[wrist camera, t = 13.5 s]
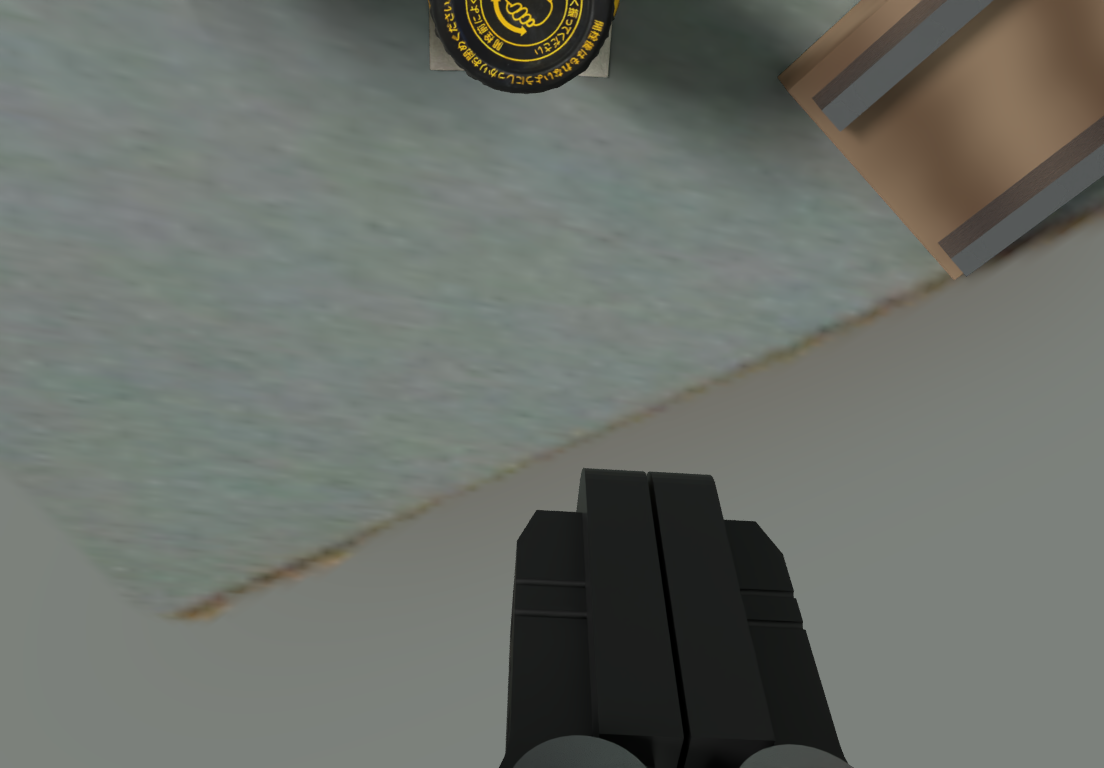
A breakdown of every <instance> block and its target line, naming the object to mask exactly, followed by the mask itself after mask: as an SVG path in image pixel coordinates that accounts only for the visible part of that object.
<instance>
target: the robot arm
mask: <svg viewBox="0 0 1104 768" xmlns="http://www.w3.org/2000/svg"><path fill="white" fill-rule="evenodd" d="M514 577H515V578H514V590H513V603H512V618H511V631H510V653H509V678H508V680H509V681H508V704H507V705H508V706H507V729H506V751H505V752H506V753H505V757H504V759H503V761H502V763H501V765H500V767H499V768H853V767H852V766H850V765H849V764H848V763H847V761H846V759H845V757H844V755H843V752H842V749H841V747H840V744H839V740H838V737H837V734H836V731H835V727H834V724H833V721H832V717H831V714H830V710H829V707H828V704H827V700H826V697H825V694H824V690H823V687H822V684H821V680H820V677H819V674H818V670H817V667H816V664H815V661H814V657H813V654H812V650H811V647H810V643H809V640H808V637H807V633H806V630H803V620H802V617H801V613H800V610H799V607H798V603H797V600H796V598H794V596H793V592H794V590H793V587H792V583H791V580H790V577H789V573H788V570H787V567H786V563H785V560H784V557H783V554H782V553H781V552H780V550H779V549H778V548H777V547H776V546H775V544H774V543H773V542H772V541H771V540H770V538H769V537H768V536H767V535H766V534H765V532H764V531H763V530H762V529H761V528H760V526H759V525H758V524H757V523H756V522H754V521H736V520H724V519H723V515H722V511H721V507H720V502H719V498H718V494H717V490H716V485H715V482H714V479H713V477H712V476H711V475H700V474H683V473H666V472H648V474H647V476H646V473H645V472H643V471H625V470H624V471H623V470H607V469H589V468H583V469H582V473H581V478H580V486H579V494H578V503H577V511H576V512H563V511H544V510H536V512H535V513H534V515H533V517H532V518H531V520H530V521H529V523H528V525H527V526H526V528H525V529H524V531H523V532H522V534H521V535H520V537H519V539H518V540H517V550H516V563H515V576H514Z"/></svg>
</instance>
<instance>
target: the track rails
mask: <svg viewBox="0 0 1104 768" xmlns="http://www.w3.org/2000/svg"><path fill="white" fill-rule="evenodd" d="M992 1H993V0H921V1H920V2H919V3H918V4H917V5H916V6H915V7H914V8H912V9H911V10H910V11H909V12H908V13H907V14H906V15H905V16H903V17H902V18H901V19H900V20H899V21H898V22H897V23H896V24H894V25H893V26H892V27H891V28H890V29H889V30H888V31H887V32H885V33H884V34H883V35H882V36H881V37H880V38H879V39H878V40H877V41H875V42H874V43H873V44H872V45H871V46H870V47H869V48H868V49H866V50H865V51H864V52H863V53H862V54H861V55H860V56H859V57H857V58H856V59H855V60H854V61H853V62H852V63H851V64H850V65H848V66H847V67H846V68H845V69H844V70H843V71H842V72H841V73H839V74H838V75H837V76H836V77H835V78H834V79H833V80H832V81H830V82H829V83H828V84H827V85H826V86H825V87H824V88H823V89H821V90H820V91H819V92H818V93H817V94H816V95H815V96H814V97H812V99H813V100H814V102H815V103H816V104H817V105H818V107H819V108H820V109H821V110H822V112H823V113H824V114H825V115H826V116H827V117H828V119H829V120H830V121H831V122H832V123H833V124H834V125H835V127H836V128H837V129H838V130H839V131H840V132H841V131H842V130H843V129H844V128H846V127H847V126H848V125H849V124H850V123H851V122H852V121H854V120H855V119H856V118H857V117H858V116H859V115H861V114H862V113H863V112H864V111H865V110H866V109H868V108H869V107H870V106H871V105H872V104H873V103H875V102H876V101H877V100H878V99H879V98H880V97H882V96H883V95H884V94H885V93H886V92H887V91H889V90H890V89H891V88H892V87H893V86H894V85H896V84H897V83H898V82H899V81H900V80H901V79H903V78H904V77H905V76H906V75H907V74H908V73H909V72H911V71H912V70H913V69H914V68H915V67H916V66H918V65H919V64H920V63H921V62H922V61H923V60H925V59H926V58H927V57H928V56H929V55H930V54H932V53H933V52H934V51H935V50H936V49H937V48H939V47H940V46H941V45H942V44H943V43H944V42H946V41H947V40H948V39H949V38H950V37H951V36H953V35H954V34H955V33H956V32H957V31H958V30H960V29H961V28H962V27H963V26H964V25H965V24H966V23H968V22H969V21H970V20H971V19H972V18H973V17H975V16H976V15H977V14H978V13H979V12H980V11H982V10H983V9H984V8H985V7H986V6H987V5H989V4H990V3H991V2H992ZM1102 176H1104V116H1103V117H1101V118H1100V119H1099V120H1097V121H1096V122H1095V123H1093V124H1092V125H1091V126H1089V127H1088V128H1087V129H1086V130H1084V131H1083V132H1082V133H1080V134H1079V135H1078V136H1076V137H1075V138H1074V139H1073V140H1071V141H1070V142H1069V143H1067V144H1066V145H1065V146H1063V147H1062V148H1061V149H1059V150H1058V151H1057V152H1056V153H1054V154H1053V155H1052V156H1050V157H1049V158H1048V159H1046V160H1045V161H1044V162H1042V163H1041V164H1040V165H1039V166H1037V167H1036V168H1035V169H1033V170H1032V171H1031V172H1029V173H1028V174H1027V175H1025V176H1024V177H1023V178H1022V179H1020V180H1019V181H1018V182H1016V183H1015V184H1014V185H1012V186H1011V187H1010V188H1008V189H1007V190H1006V191H1005V192H1003V193H1002V194H1001V195H999V196H998V197H997V198H995V199H994V200H993V201H991V202H990V203H989V204H988V205H986V206H985V207H984V208H982V209H981V210H980V211H978V212H977V213H976V214H975V215H973V216H972V217H971V218H969V219H968V220H967V221H965V222H964V223H963V224H961V225H960V226H959V227H958V228H956V229H955V230H954V231H952V232H951V233H950V234H948V235H947V236H946V237H944V238H943V239H942V240H941V241H939V242H938V244H939V245H940V246H941V248H942V249H943V250H944V251H945V252H946V254H947V255H948V256H949V257H950V259H951V260H952V261H953V262H954V263H955V264H956V265H957V267H958V268H959V269H960V270H961V271H962V272H963V274H964V275H965V276H966V277H967V276H968V275H969V274H971V273H972V272H974V271H975V270H976V269H978V268H979V267H980V266H982V265H983V264H984V263H986V262H987V261H988V260H990V259H991V258H992V257H994V256H995V255H997V254H998V253H999V252H1001V251H1002V250H1003V249H1005V248H1006V247H1007V246H1009V245H1010V244H1011V243H1013V242H1014V241H1016V240H1017V239H1018V238H1020V237H1021V236H1022V235H1024V234H1025V233H1026V232H1028V231H1029V230H1030V229H1032V228H1033V227H1034V226H1036V225H1037V224H1039V223H1040V222H1041V221H1043V220H1044V219H1045V218H1047V217H1048V216H1049V215H1051V214H1052V213H1053V212H1055V211H1056V210H1057V209H1059V208H1060V207H1062V206H1063V205H1064V204H1066V203H1067V202H1068V201H1070V200H1071V199H1072V198H1074V197H1075V196H1076V195H1078V194H1079V193H1081V192H1082V191H1083V190H1085V189H1086V188H1087V187H1089V186H1090V185H1091V184H1093V183H1094V182H1095V181H1097V180H1098V179H1099V178H1101V177H1102Z"/></svg>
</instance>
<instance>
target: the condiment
mask: <svg viewBox="0 0 1104 768" xmlns="http://www.w3.org/2000/svg"><path fill="white" fill-rule="evenodd" d="M428 2H429V37H430V45H429V46H430V70H461V71H466V73H467V74H468V76H470V77H472V78H473V79H475V80H479V81H480V82H482V83H483V84H484V85H487V86H489V87H491V88H493V89H496V90H500V91H505V92H510V93H524V94H529V93H540V92H545V91H547V90H550V89H554V88H558V87H560V86H562V85H563V84H565V83H566V82H568V81H570V80H571V79H573V78H574V77H576V76H577V75H579V76H591V77H608V66H609V55H610V41H611V30H612V21H613V20H614V17H615V15H616V12H617V9H618V6H619V2H620V0H428Z"/></svg>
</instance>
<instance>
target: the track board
mask: <svg viewBox="0 0 1104 768" xmlns="http://www.w3.org/2000/svg"><path fill="white" fill-rule="evenodd" d="M920 1H921V0H861V1H860V2H859V3H858V4H857V5H856V6H854V7H853V8H852V9H851V10H850V11H849V12H848V13H847V14H846V15H845V16H844V17H842V18H841V19H840V20H839V21H838V22H837V23H836V24H835V25H834V26H833V27H832V28H830V29H829V30H828V31H827V32H826V33H825V34H824V35H823V36H822V37H821V38H820V39H818V40H817V41H816V42H815V43H814V44H813V45H812V46H811V47H810V48H809V49H808V50H806V51H805V52H804V53H803V54H802V55H801V56H800V57H799V58H798V59H797V60H796V61H794V62H793V63H792V64H791V65H790V66H789V67H788V68H787V69H786V70H785V71H784V72H782V73H781V74H780V75H779V76H778V79H779V80H780V81H781V83H782V84H783V86H784V87H785V88H786V90H787V91H788V92H789V93H790V94H791V96H792V97H793V98H794V99H795V100H796V101H797V102H798V104H799V105H800V106H801V107H802V108H803V109H804V110H805V111H806V113H807V114H808V115H809V116H810V117H811V118H812V119H813V121H814V122H815V123H816V124H817V125H818V126H819V127H820V128H821V130H822V131H823V132H824V133H825V134H826V135H827V136H828V138H829V139H830V140H831V141H832V142H833V143H834V144H835V146H836V147H837V148H838V149H839V150H840V151H841V152H842V153H843V155H844V156H845V157H846V158H847V159H848V160H849V161H850V163H851V164H852V165H853V166H854V167H855V168H856V169H857V170H858V172H859V173H860V174H861V175H862V176H863V177H864V178H865V180H866V181H867V182H868V183H869V184H870V185H871V186H872V188H873V189H874V190H875V191H876V192H877V193H878V194H879V195H880V197H881V198H882V199H883V200H884V201H885V202H886V203H887V205H888V206H889V207H890V208H891V209H892V210H893V211H894V212H895V214H896V215H897V216H898V217H899V218H900V219H901V220H902V222H903V223H904V224H905V225H906V226H907V227H908V228H909V230H910V231H911V232H912V233H913V234H914V235H915V236H916V237H917V239H918V240H919V241H920V242H921V243H922V244H923V245H924V247H925V248H926V249H927V250H928V251H929V252H930V253H931V254H932V256H933V257H934V258H935V259H936V260H937V261H938V262H939V264H940V265H941V266H942V267H943V268H944V269H945V270H946V272H947V273H948V274H949V275H950V276H951V277H952V278H953V279H954V280H955V279H956V278H958V277H959V276H961V275H962V274H963V272H962V271H961V270H960V269H959V268H958V267H957V265H956V264H955V263H954V262H953V261H952V260H951V259H950V257H949V256H948V255H947V254H946V252H945V251H944V250H943V249H942V248H941V246H940V245H939V244H938V242H939V241H941V240H942V239H943V238H944V237H946V236H947V235H948V234H950V233H951V232H952V231H954V230H955V229H956V228H958V227H959V226H960V225H961V224H963V223H964V222H965V221H967V220H968V219H969V218H971V217H972V216H973V215H975V214H976V213H977V212H978V211H980V210H981V209H982V208H984V207H985V206H986V205H988V204H989V203H990V202H991V201H993V200H994V199H995V198H997V197H998V196H999V195H1001V194H1002V193H1003V192H1005V191H1006V190H1007V189H1008V188H1010V187H1011V186H1012V185H1014V184H1015V183H1016V182H1018V181H1019V180H1020V179H1022V178H1023V177H1024V176H1025V175H1027V174H1028V173H1029V172H1031V171H1032V170H1033V169H1035V168H1036V167H1037V166H1039V165H1040V164H1041V163H1042V162H1044V161H1045V160H1046V159H1048V158H1049V157H1050V156H1052V155H1053V154H1054V153H1056V152H1057V151H1058V150H1059V149H1061V148H1062V147H1063V146H1065V145H1066V144H1067V143H1069V142H1070V141H1071V140H1073V139H1074V138H1075V137H1076V136H1078V135H1079V134H1080V133H1082V132H1083V131H1084V130H1086V129H1087V128H1088V127H1089V126H1091V125H1092V124H1093V123H1095V122H1096V121H1097V120H1099V119H1100V118H1101V117H1103V116H1104V0H993V1H992V2H991V3H990V4H989V5H987V6H986V7H985V8H984V9H983V10H982V11H980V12H979V13H978V14H977V15H976V16H975V17H973V18H972V19H971V20H970V21H969V22H968V23H966V24H965V25H964V26H963V27H962V28H961V29H960V30H958V31H957V32H956V33H955V34H954V35H953V36H951V37H950V38H949V39H948V40H947V41H946V42H944V43H943V44H942V45H941V46H940V47H939V48H937V49H936V50H935V51H934V52H933V53H932V54H930V55H929V56H928V57H927V58H926V59H925V60H923V61H922V62H921V63H920V64H919V65H918V66H916V67H915V68H914V69H913V70H912V71H911V72H909V73H908V74H907V75H906V76H905V77H904V78H903V79H901V80H900V81H899V82H898V83H897V84H896V85H894V86H893V87H892V88H891V89H890V90H889V91H887V92H886V93H885V94H884V95H883V96H882V97H880V98H879V99H878V100H877V101H876V102H875V103H873V104H872V105H871V106H870V107H869V108H868V109H866V110H865V111H864V112H863V113H862V114H861V115H859V116H858V117H857V118H856V119H855V120H854V121H852V122H851V123H850V124H849V125H848V126H847V127H846V128H844V129H843V130H842V131H841V132H840V131H839V130H838V129H837V128H836V127H835V125H834V124H833V123H832V122H831V121H830V120H829V119H828V117H827V116H826V115H825V114H824V113H823V112H822V110H821V109H820V108H819V107H818V105H817V104H816V103H815V102H814V100H813V99H812V97H814V96H815V95H816V94H817V93H818V92H819V91H820V90H821V89H823V88H824V87H825V86H826V85H827V84H828V83H829V82H830V81H832V80H833V79H834V78H835V77H836V76H837V75H838V74H839V73H841V72H842V71H843V70H844V69H845V68H846V67H847V66H848V65H850V64H851V63H852V62H853V61H854V60H855V59H856V58H857V57H859V56H860V55H861V54H862V53H863V52H864V51H865V50H866V49H868V48H869V47H870V46H871V45H872V44H873V43H874V42H875V41H877V40H878V39H879V38H880V37H881V36H882V35H883V34H884V33H885V32H887V31H888V30H889V29H890V28H891V27H892V26H893V25H894V24H896V23H897V22H898V21H899V20H900V19H901V18H902V17H903V16H905V15H906V14H907V13H908V12H909V11H910V10H911V9H912V8H914V7H915V6H916V5H917V4H918V3H919V2H920Z"/></svg>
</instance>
